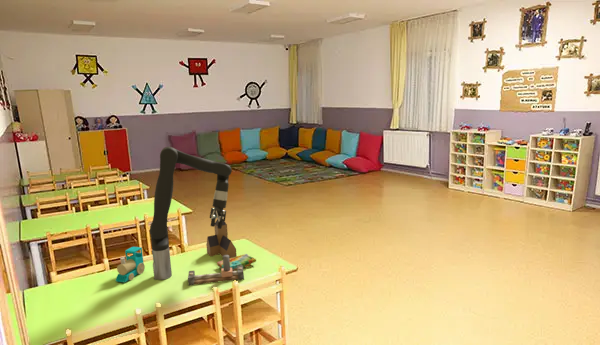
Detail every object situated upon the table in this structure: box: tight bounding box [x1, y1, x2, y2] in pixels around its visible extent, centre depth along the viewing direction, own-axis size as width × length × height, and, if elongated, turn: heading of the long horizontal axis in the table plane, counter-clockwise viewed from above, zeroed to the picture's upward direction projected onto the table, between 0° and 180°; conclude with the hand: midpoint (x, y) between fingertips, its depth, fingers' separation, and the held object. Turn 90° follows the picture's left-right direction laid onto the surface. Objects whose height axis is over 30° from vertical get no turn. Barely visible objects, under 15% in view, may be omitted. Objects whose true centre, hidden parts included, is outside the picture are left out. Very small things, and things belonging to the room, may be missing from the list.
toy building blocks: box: [206, 218, 238, 258], centre depth 259 cm, size 12×19×25 cm, turn 33°
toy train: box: [115, 246, 146, 283], centre depth 234 cm, size 8×17×15 cm, turn 163°
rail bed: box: [187, 265, 245, 286], centre depth 228 cm, size 30×9×5 cm, turn 101°
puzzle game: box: [216, 253, 257, 271], centre depth 244 cm, size 12×5×20 cm
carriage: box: [220, 255, 233, 277], centre depth 229 cm, size 6×6×11 cm
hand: (215, 227), depth 230 cm, fingers open, 8 cm apart
